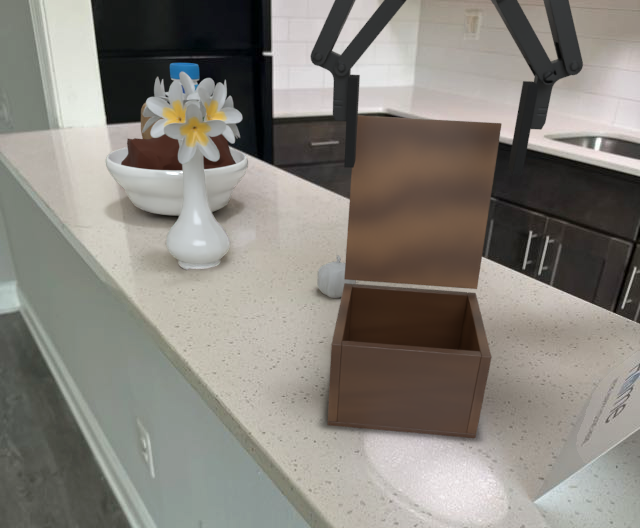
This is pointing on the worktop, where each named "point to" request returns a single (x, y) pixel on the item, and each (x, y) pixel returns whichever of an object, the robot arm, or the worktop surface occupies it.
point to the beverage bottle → (188, 68)
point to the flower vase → (194, 162)
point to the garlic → (332, 278)
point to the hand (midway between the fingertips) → (431, 168)
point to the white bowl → (172, 173)
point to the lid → (420, 200)
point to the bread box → (408, 361)
